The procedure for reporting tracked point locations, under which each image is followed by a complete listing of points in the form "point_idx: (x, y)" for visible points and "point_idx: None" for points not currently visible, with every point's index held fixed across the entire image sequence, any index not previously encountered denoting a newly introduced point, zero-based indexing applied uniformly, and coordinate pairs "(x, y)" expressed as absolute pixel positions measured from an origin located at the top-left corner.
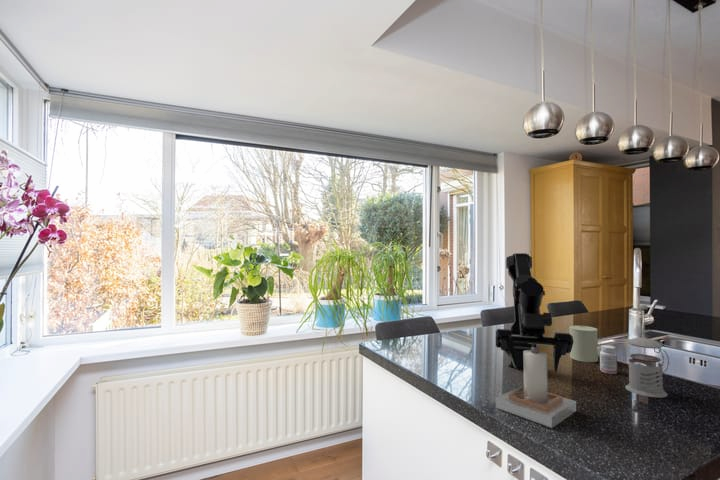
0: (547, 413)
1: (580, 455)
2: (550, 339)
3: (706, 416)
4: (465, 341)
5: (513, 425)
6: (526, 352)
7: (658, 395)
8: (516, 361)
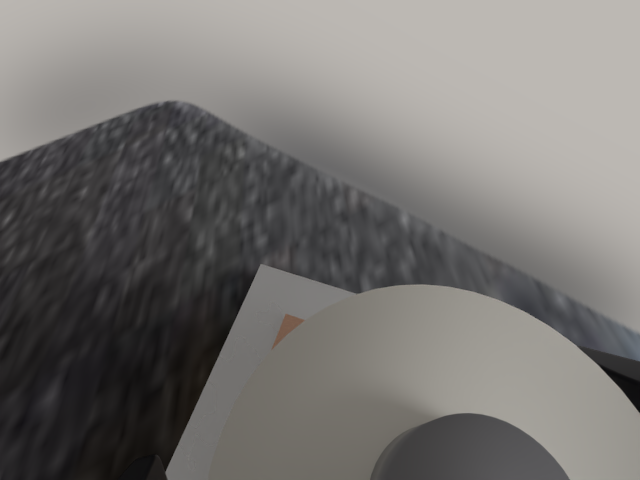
0: (280, 295)
1: (189, 152)
2: None
3: None
4: None
5: (404, 233)
6: (592, 432)
7: None
8: (615, 368)
